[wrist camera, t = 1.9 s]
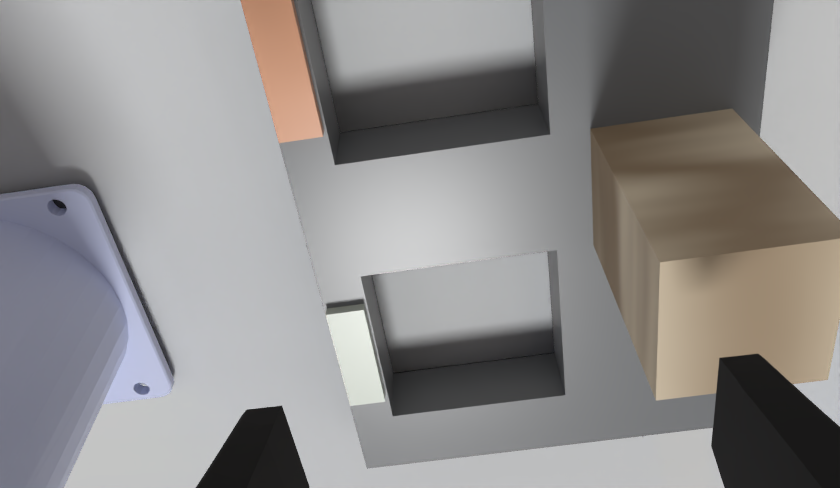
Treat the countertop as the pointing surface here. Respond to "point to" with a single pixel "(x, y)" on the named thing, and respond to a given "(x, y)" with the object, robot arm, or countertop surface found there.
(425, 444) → the dock
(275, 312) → the countertop surface
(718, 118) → the tan rectangular block
